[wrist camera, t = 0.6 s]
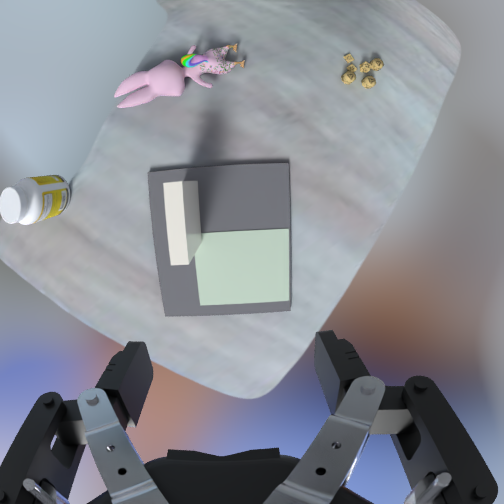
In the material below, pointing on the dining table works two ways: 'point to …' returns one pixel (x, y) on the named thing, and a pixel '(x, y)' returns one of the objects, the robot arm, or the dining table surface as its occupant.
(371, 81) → the yellow speckled pebbles
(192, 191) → the tile
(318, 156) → the dining table surface
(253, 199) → the mat
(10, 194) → the supplement bottle
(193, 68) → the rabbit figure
